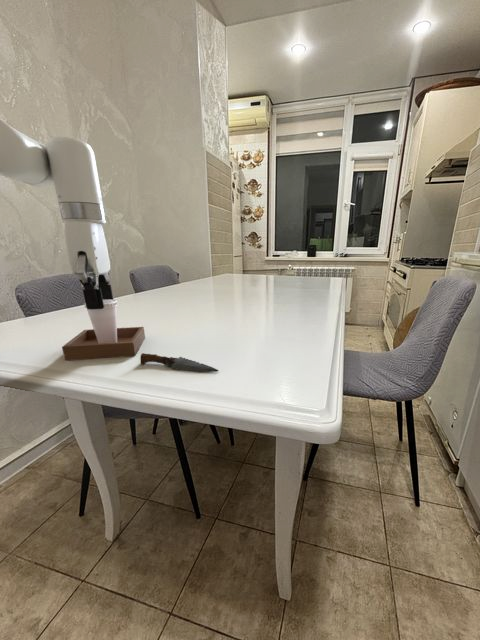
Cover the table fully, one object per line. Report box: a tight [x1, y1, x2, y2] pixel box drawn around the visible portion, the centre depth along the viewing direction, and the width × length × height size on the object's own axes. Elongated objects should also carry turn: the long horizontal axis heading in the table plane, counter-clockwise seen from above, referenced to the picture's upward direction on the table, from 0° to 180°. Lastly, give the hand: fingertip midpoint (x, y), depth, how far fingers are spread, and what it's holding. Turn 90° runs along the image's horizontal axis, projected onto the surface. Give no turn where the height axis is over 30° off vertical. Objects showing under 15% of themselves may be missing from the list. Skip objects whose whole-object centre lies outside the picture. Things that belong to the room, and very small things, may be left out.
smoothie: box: [83, 299, 119, 344], centre depth 64 cm, size 6×6×14 cm
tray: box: [61, 326, 146, 361], centre depth 66 cm, size 14×13×3 cm
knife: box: [140, 352, 219, 373], centre depth 56 cm, size 17×2×5 cm
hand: (101, 304), depth 63 cm, fingers closed on smoothie, 6 cm apart
